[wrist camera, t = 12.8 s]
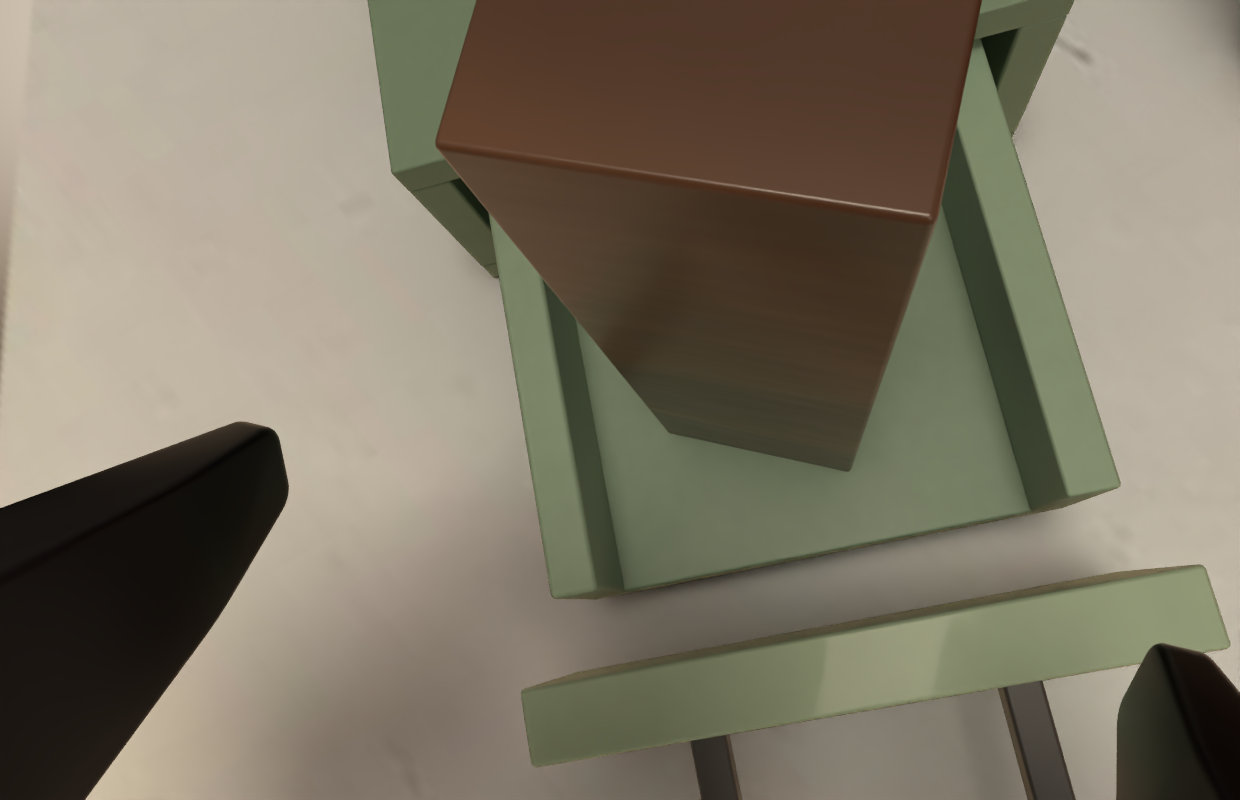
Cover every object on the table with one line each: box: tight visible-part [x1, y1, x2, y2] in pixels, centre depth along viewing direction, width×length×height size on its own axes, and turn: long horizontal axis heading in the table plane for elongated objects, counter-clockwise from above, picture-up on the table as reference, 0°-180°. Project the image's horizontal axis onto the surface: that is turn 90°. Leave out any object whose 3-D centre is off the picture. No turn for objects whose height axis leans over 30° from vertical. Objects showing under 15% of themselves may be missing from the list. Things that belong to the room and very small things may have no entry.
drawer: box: [489, 38, 1230, 800], centre depth 17 cm, size 22×10×4 cm, turn 11°
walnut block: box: [435, 0, 982, 471], centre depth 12 cm, size 4×4×12 cm
